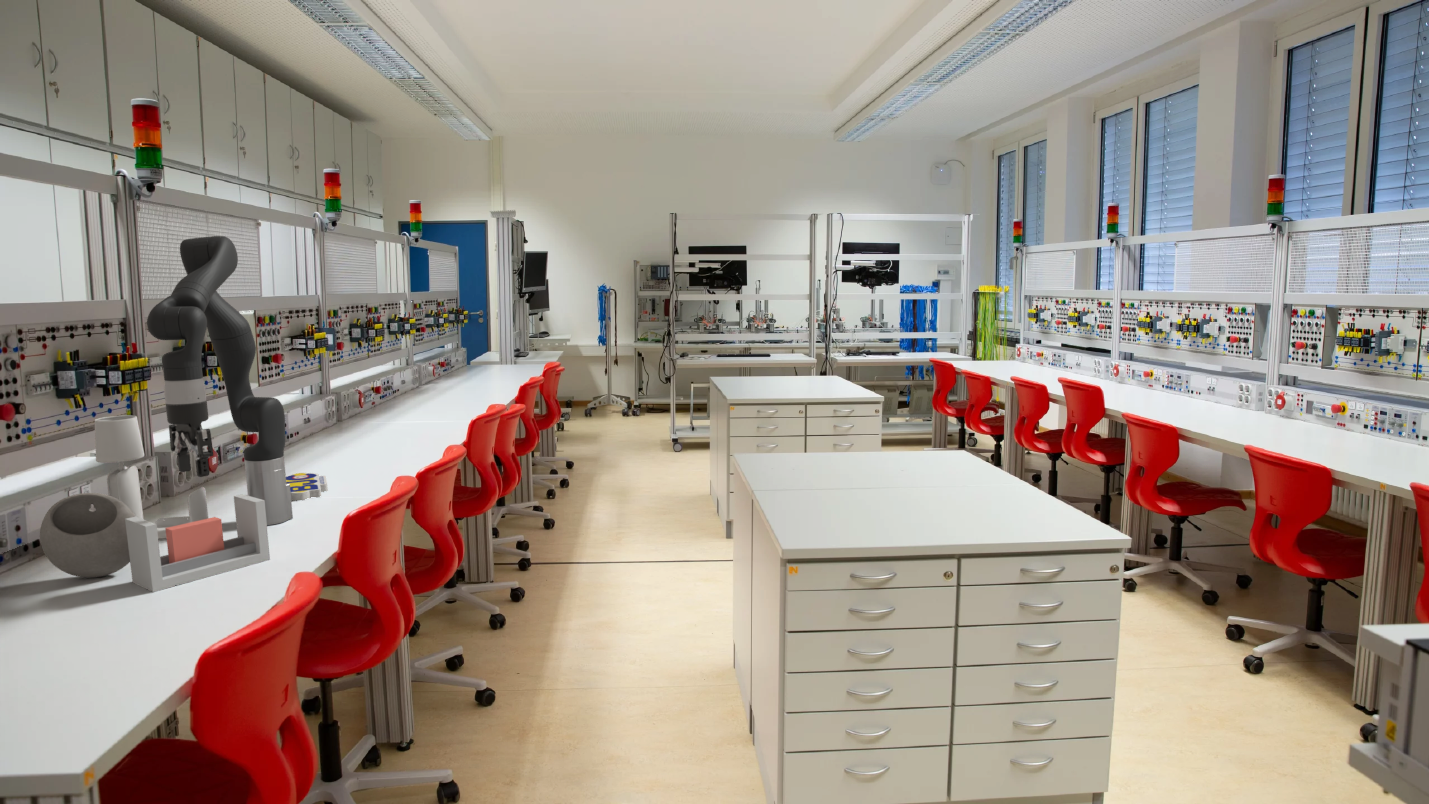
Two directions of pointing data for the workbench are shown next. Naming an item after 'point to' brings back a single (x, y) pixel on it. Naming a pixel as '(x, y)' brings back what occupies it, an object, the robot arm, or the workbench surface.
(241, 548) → the u-shaped grey holder
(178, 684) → the workbench surface
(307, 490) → the sign
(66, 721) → the workbench surface
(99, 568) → the planter
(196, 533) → the red rectangular block
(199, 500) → the wall lamp
